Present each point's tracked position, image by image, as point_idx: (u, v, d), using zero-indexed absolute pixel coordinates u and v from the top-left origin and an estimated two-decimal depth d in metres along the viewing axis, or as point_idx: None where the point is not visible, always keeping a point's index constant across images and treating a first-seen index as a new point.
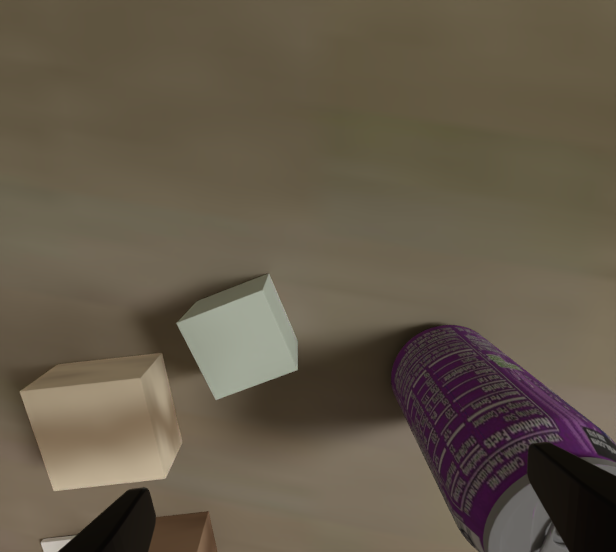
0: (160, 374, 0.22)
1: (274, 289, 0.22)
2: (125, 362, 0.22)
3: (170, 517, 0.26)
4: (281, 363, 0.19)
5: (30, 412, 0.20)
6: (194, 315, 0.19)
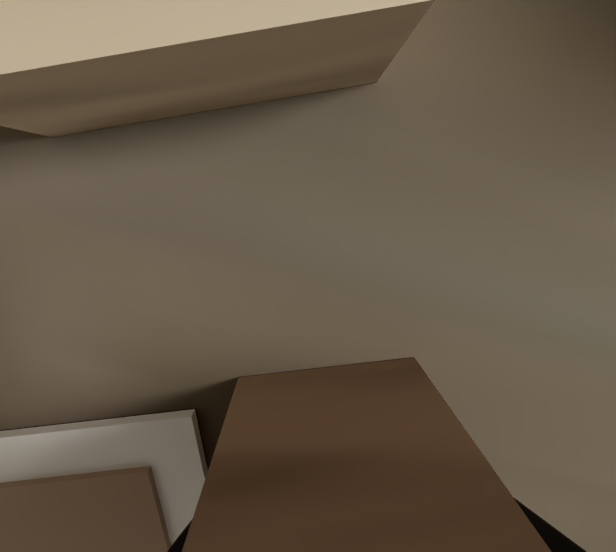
0: None
1: None
2: None
3: (303, 373, 0.09)
4: None
5: None
6: None
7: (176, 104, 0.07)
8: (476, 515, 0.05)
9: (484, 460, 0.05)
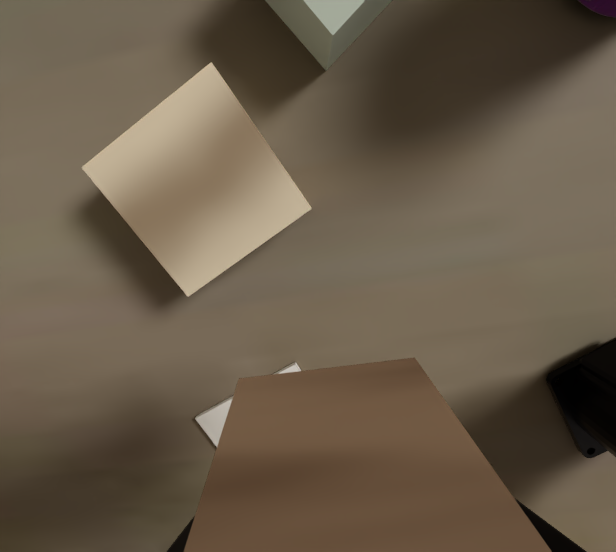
0: None
1: None
2: None
3: (304, 374, 0.09)
4: None
5: (108, 192, 0.15)
6: None
7: None
8: (477, 515, 0.05)
9: (485, 460, 0.05)
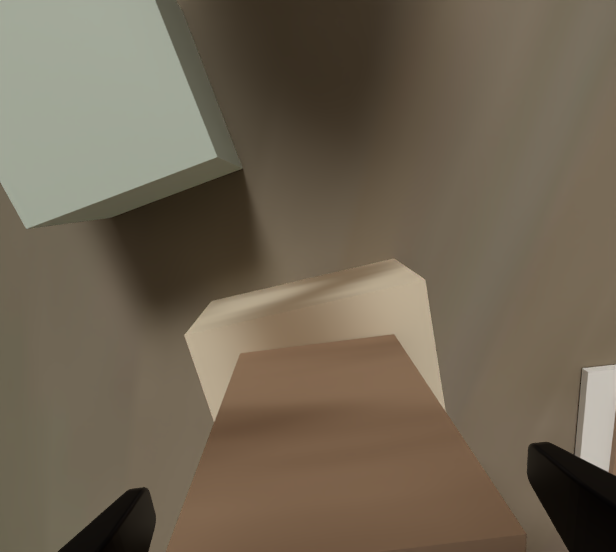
0: (236, 301, 0.12)
1: None
2: None
3: (297, 348, 0.10)
4: None
5: None
6: None
7: None
8: (426, 443, 0.06)
9: (440, 406, 0.07)
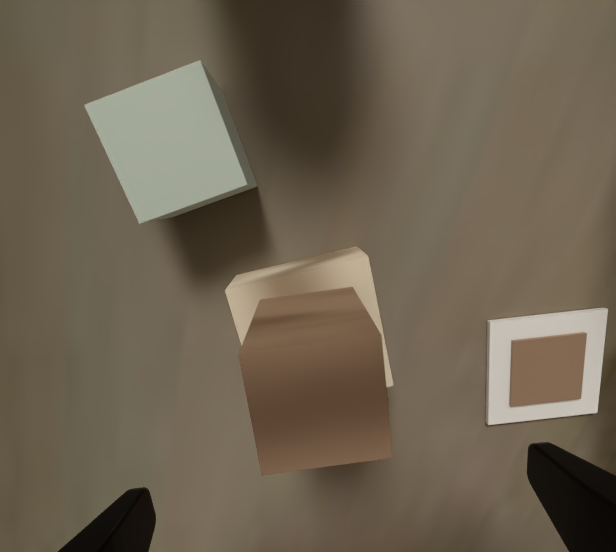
0: (253, 273, 0.19)
1: None
2: None
3: (294, 295, 0.16)
4: (190, 84, 0.14)
5: None
6: None
7: None
8: (353, 319, 0.12)
9: (365, 309, 0.13)
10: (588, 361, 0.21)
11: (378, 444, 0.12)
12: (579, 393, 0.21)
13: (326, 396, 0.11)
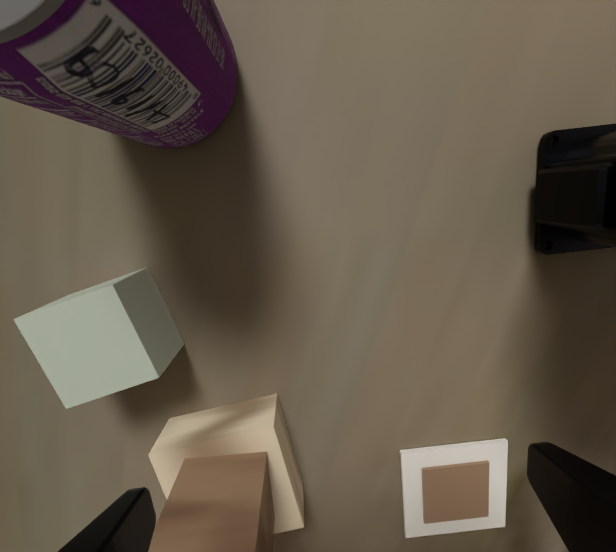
0: (182, 422, 0.21)
1: (79, 291, 0.19)
2: None
3: (214, 458, 0.19)
4: (105, 303, 0.16)
5: None
6: None
7: (292, 455, 0.22)
8: (243, 527, 0.15)
9: (259, 508, 0.15)
10: (493, 484, 0.23)
11: None
12: (486, 512, 0.23)
13: None
